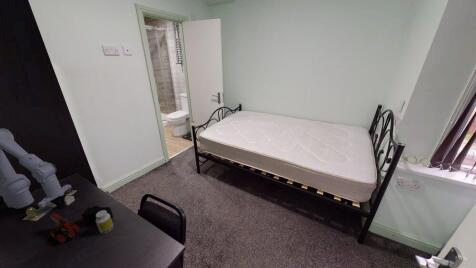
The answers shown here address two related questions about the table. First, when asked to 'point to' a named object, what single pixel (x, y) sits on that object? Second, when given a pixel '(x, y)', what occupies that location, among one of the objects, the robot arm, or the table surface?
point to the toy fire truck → (63, 228)
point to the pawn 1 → (32, 213)
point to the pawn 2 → (67, 190)
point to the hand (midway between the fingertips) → (61, 207)
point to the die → (69, 200)
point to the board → (46, 208)
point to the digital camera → (94, 214)
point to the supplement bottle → (104, 222)
